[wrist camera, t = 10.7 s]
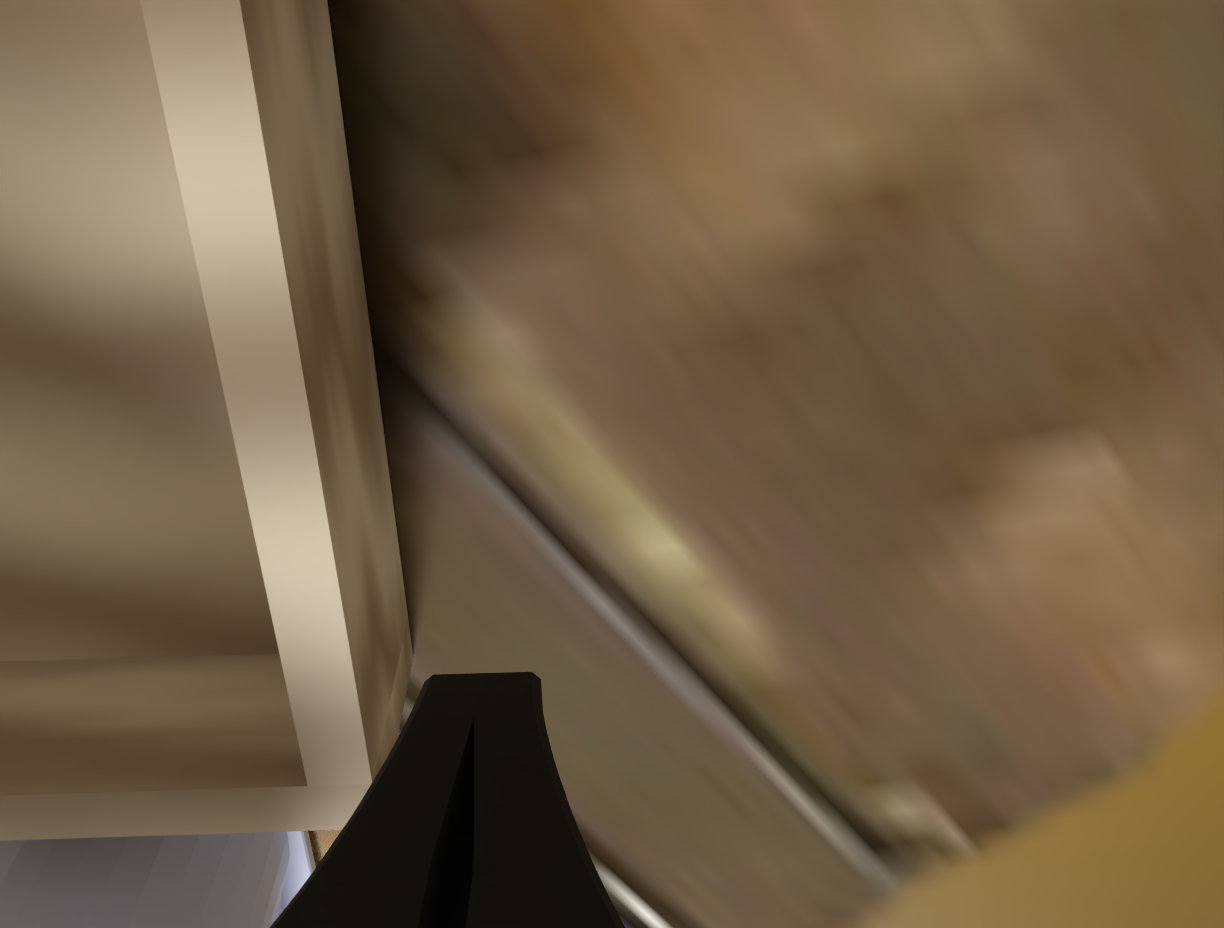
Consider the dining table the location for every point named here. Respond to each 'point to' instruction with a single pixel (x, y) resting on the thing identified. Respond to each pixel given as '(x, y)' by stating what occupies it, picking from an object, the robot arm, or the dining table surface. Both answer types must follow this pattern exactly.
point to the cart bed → (187, 429)
